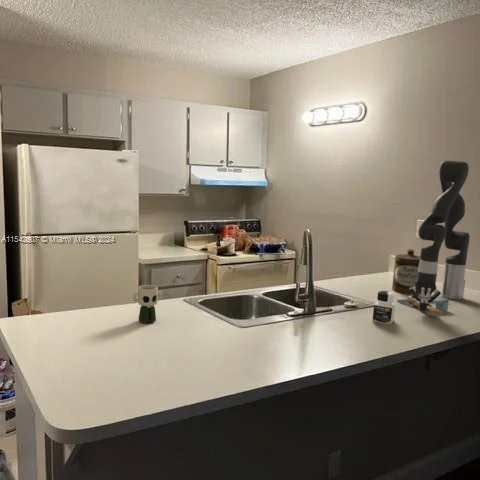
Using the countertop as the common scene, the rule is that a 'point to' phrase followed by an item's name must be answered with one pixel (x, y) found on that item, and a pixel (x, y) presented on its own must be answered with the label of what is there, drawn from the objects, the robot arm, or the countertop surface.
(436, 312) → the link
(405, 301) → the pivot base
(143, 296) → the character mug
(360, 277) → the countertop surface
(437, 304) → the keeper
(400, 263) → the wooden container
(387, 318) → the medicine bottle
